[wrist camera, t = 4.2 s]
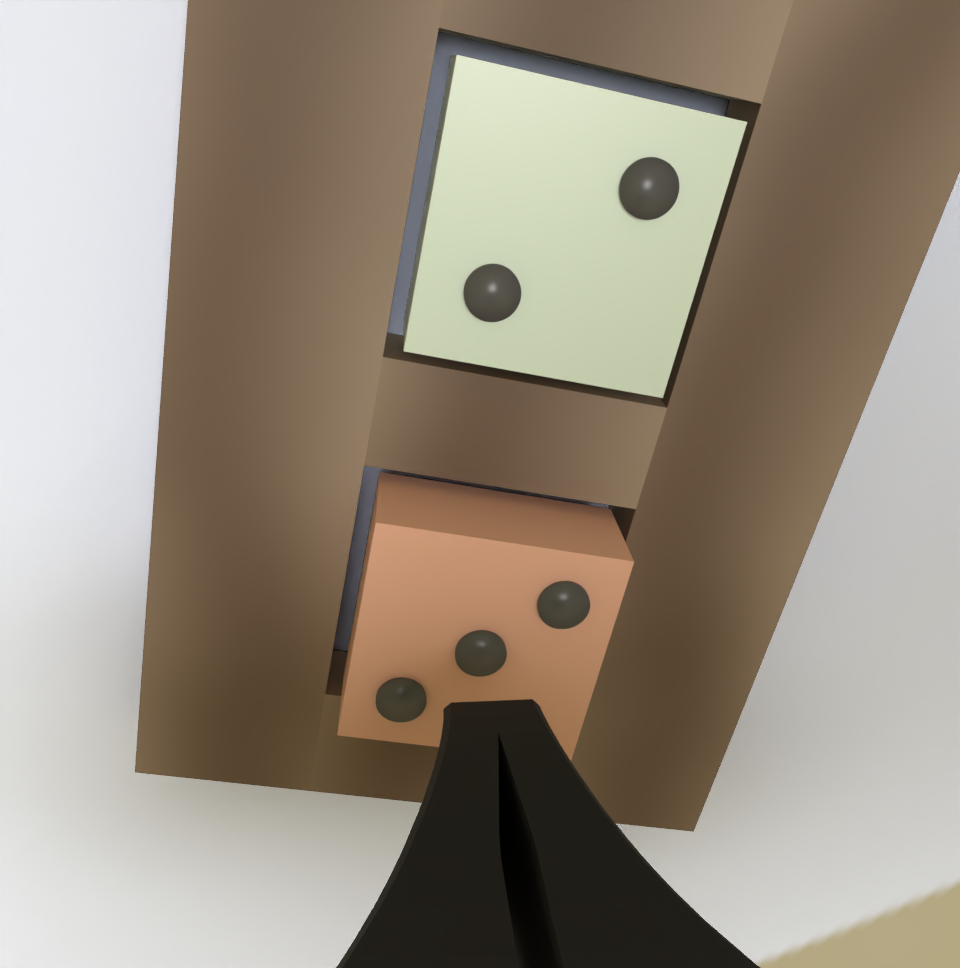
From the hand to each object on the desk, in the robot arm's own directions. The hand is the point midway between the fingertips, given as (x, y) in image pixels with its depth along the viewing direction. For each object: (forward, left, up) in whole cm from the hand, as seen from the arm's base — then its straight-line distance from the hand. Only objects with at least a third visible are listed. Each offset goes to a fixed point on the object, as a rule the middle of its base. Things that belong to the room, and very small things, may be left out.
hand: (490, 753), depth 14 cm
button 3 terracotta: (0, 0, -6) cm, 6 cm away
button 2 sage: (0, -7, -6) cm, 9 cm away
